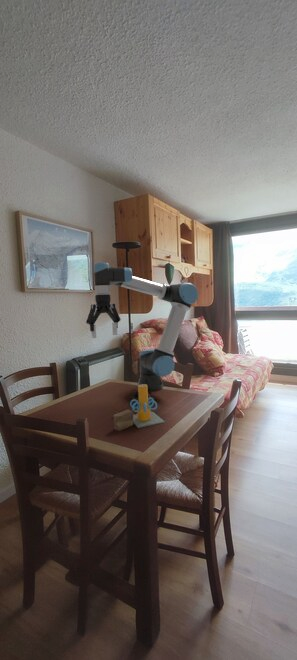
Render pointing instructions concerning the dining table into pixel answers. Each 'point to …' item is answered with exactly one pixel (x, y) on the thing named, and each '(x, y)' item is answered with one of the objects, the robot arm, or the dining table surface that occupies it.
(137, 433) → the dining table surface
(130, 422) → the tan block
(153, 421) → the mat
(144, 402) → the yellow upright looped piece
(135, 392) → the pottery mug
